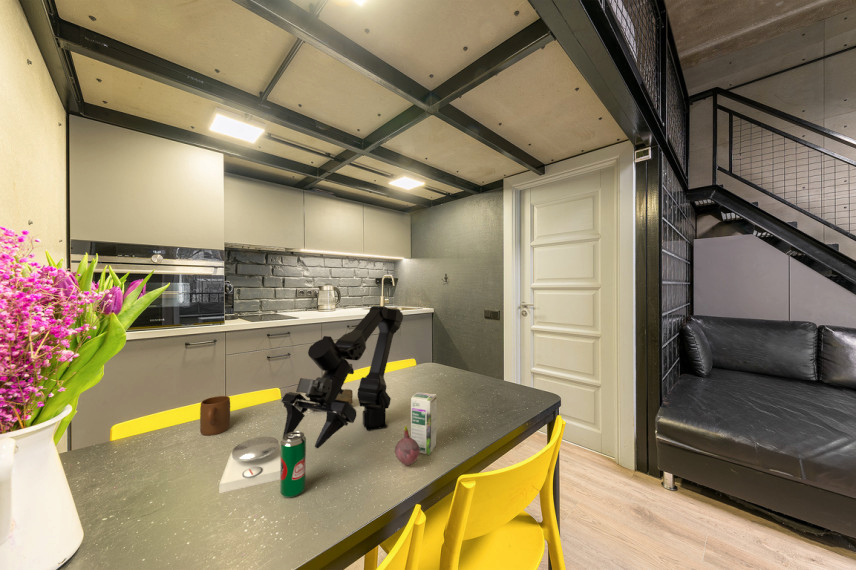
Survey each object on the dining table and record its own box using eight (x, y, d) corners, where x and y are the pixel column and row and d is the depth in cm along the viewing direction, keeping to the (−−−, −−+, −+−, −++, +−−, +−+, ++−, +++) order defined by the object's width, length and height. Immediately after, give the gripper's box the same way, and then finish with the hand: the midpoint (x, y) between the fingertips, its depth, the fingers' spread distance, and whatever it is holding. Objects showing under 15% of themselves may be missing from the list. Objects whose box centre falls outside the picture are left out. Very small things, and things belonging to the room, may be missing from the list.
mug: (225, 439, 88) (225, 407, 88) (193, 445, 85) (193, 411, 85) (231, 423, 99) (232, 394, 99) (203, 427, 96) (203, 397, 96)
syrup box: (409, 451, 82) (410, 397, 82) (418, 441, 88) (418, 390, 88) (429, 455, 80) (430, 400, 80) (436, 444, 86) (437, 393, 86)
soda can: (296, 500, 63) (296, 442, 63) (274, 497, 64) (275, 440, 64) (310, 485, 68) (310, 431, 68) (290, 482, 69) (290, 429, 69)
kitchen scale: (283, 449, 83) (283, 440, 83) (281, 479, 70) (281, 469, 70) (231, 459, 78) (231, 450, 78) (219, 494, 65) (219, 482, 65)
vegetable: (396, 458, 79) (396, 419, 79) (420, 459, 79) (420, 420, 79) (393, 472, 73) (393, 430, 73) (418, 473, 72) (418, 431, 73)
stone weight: (351, 402, 117) (351, 385, 117) (353, 409, 110) (353, 391, 110) (309, 408, 112) (310, 389, 112) (309, 415, 105) (309, 396, 105)
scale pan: (279, 440, 82) (279, 433, 82) (277, 459, 73) (277, 452, 73) (235, 448, 78) (235, 441, 78) (228, 469, 69) (228, 461, 69)
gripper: (287, 359, 76) (246, 421, 66) (349, 367, 70) (315, 437, 59) (309, 382, 84) (276, 441, 73) (368, 390, 77) (340, 457, 66)
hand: (299, 443), depth 68 cm, fingers open, 9 cm apart
